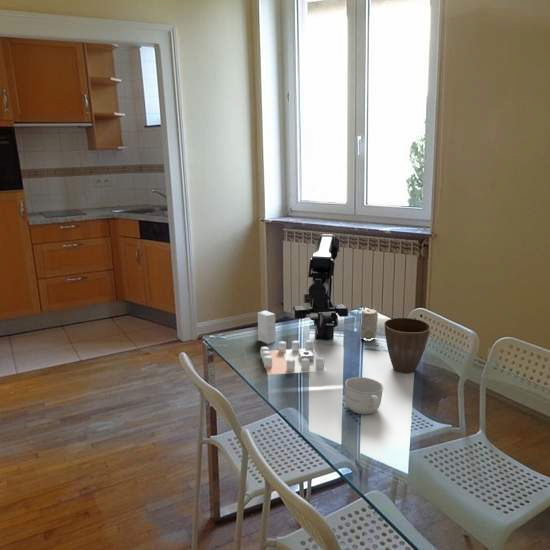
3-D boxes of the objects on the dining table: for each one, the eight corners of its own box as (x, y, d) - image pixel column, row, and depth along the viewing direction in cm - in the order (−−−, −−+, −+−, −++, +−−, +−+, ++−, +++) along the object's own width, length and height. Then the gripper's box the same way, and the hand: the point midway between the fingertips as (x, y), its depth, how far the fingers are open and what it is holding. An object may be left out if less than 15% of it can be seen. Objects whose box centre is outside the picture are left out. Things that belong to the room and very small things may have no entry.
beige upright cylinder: (357, 341, 200) (359, 312, 197) (362, 335, 207) (363, 306, 204) (373, 344, 197) (375, 314, 194) (377, 337, 204) (379, 308, 201)
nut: (310, 356, 182) (310, 350, 182) (313, 361, 178) (313, 355, 178) (298, 357, 182) (298, 350, 181) (301, 362, 177) (301, 355, 177)
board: (313, 350, 191) (313, 339, 189) (327, 373, 171) (327, 361, 170) (258, 353, 187) (258, 341, 186) (266, 377, 168) (266, 364, 167)
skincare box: (276, 343, 197) (276, 313, 194) (267, 346, 194) (267, 316, 191) (266, 339, 201) (266, 309, 198) (257, 341, 199) (257, 311, 196)
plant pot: (394, 380, 167) (397, 334, 163) (373, 362, 181) (376, 319, 177) (435, 375, 171) (439, 330, 167) (411, 358, 185) (415, 316, 181)
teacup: (340, 400, 153) (341, 376, 151) (375, 399, 154) (377, 375, 152) (350, 425, 140) (352, 398, 138) (389, 424, 141) (391, 397, 139)
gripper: (340, 284, 184) (338, 325, 188) (289, 286, 181) (288, 327, 185) (349, 293, 173) (347, 336, 177) (295, 295, 170) (294, 339, 174)
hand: (319, 334), depth 179 cm, fingers closed
